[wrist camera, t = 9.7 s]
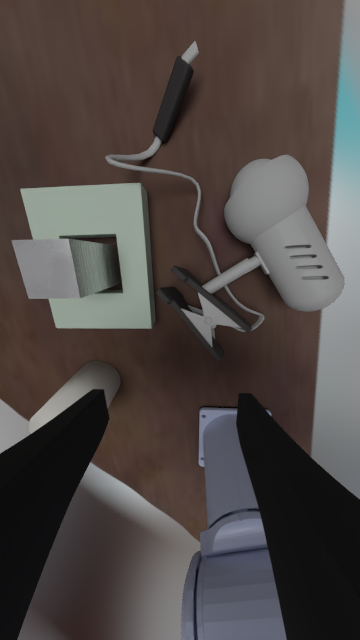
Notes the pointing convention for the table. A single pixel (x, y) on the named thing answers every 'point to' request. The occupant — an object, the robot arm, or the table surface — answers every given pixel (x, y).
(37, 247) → the steel square peg
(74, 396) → the cream round peg
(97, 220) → the socket board
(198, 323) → the clip-on lamp
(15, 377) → the table surface
